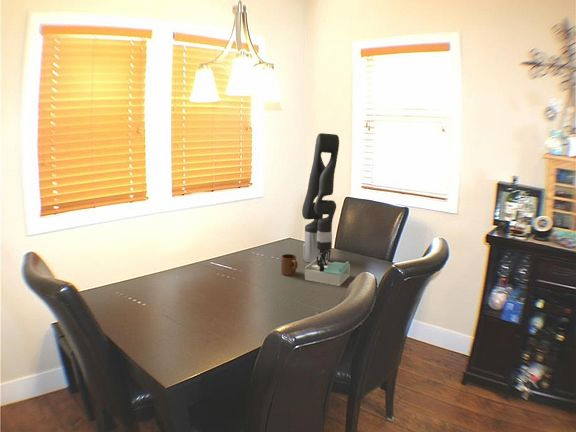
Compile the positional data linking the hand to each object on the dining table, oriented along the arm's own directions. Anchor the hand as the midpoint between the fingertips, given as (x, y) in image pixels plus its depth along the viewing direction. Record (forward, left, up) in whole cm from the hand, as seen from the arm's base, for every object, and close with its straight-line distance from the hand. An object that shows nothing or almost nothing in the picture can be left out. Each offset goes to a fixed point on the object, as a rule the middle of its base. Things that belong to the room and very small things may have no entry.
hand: (323, 271), depth 226 cm
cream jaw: (0, 0, -1) cm, 1 cm away
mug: (-16, -5, -3) cm, 17 cm away
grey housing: (+2, 0, -3) cm, 4 cm away
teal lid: (+7, 0, +3) cm, 8 cm away
